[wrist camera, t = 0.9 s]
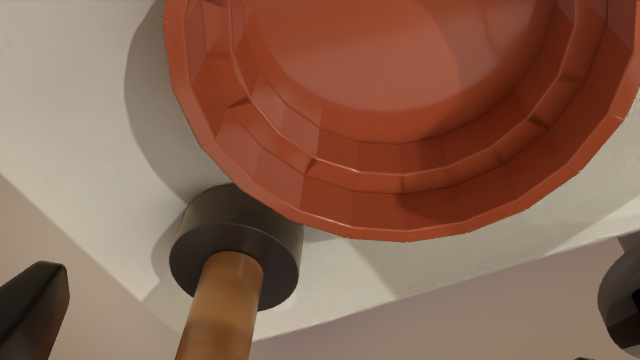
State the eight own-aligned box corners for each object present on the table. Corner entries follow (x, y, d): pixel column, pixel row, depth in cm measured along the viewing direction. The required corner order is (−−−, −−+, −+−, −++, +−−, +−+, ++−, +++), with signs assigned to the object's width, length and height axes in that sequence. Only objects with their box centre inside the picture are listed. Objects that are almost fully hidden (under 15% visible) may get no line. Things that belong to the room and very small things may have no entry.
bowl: (649, 66, 20) (712, 136, 16) (335, 210, 25) (331, 288, 21) (502, -362, 13) (553, -402, 10) (119, -51, 18) (61, -2, 15)
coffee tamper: (326, 247, 26) (312, 447, 19) (234, 286, 28) (188, 480, 21) (254, 164, 23) (203, 360, 16) (158, 215, 26) (73, 409, 18)
